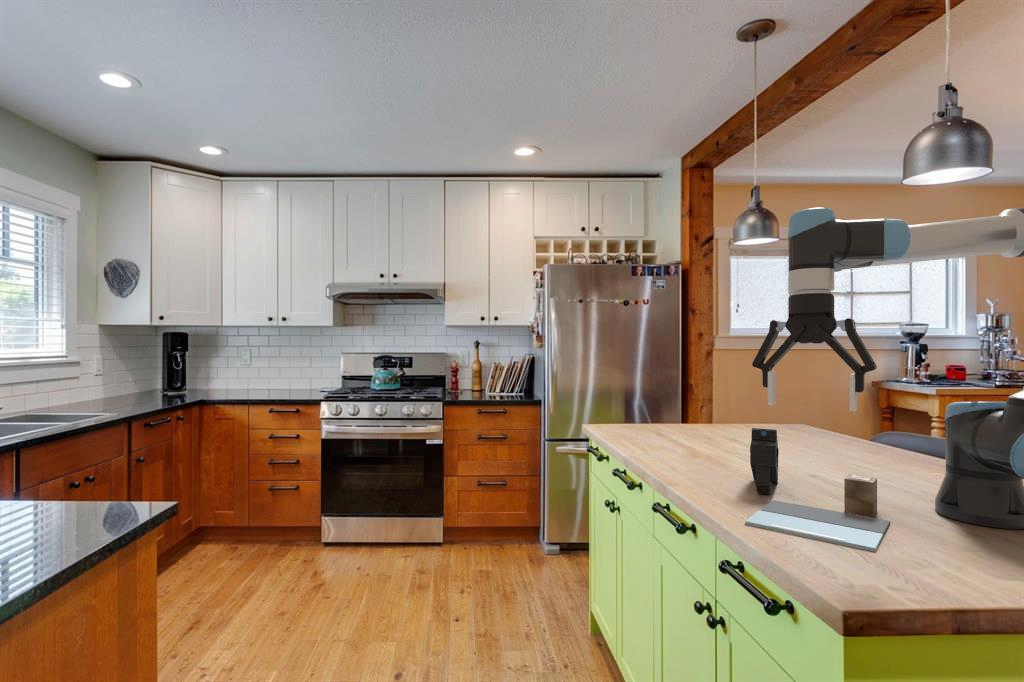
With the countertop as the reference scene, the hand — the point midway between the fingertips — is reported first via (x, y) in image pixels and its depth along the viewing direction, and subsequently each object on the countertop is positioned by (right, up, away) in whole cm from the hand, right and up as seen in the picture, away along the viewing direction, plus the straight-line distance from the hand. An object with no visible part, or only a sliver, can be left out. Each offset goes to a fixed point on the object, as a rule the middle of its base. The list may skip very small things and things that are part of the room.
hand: (810, 407), depth 101 cm
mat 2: (0, -23, 0) cm, 23 cm away
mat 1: (+6, -23, +7) cm, 25 cm away
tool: (+6, -23, +31) cm, 39 cm away
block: (+16, -23, +11) cm, 30 cm away
